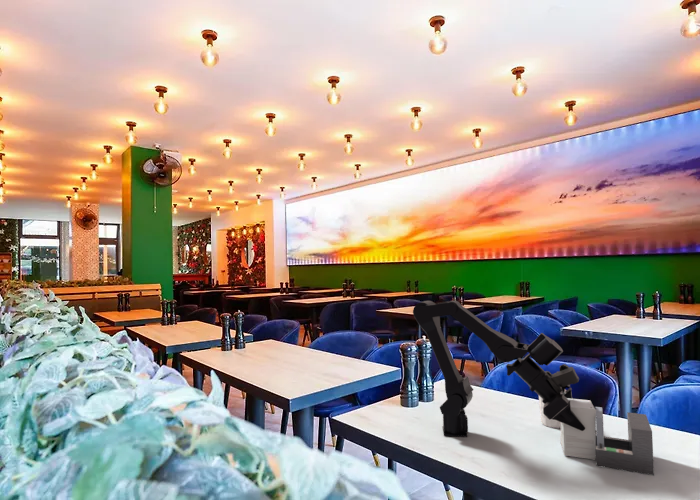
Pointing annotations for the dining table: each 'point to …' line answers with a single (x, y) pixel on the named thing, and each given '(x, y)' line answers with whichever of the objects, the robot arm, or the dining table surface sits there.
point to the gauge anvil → (629, 448)
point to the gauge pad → (599, 427)
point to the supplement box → (577, 440)
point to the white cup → (545, 420)
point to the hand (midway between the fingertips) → (583, 423)
